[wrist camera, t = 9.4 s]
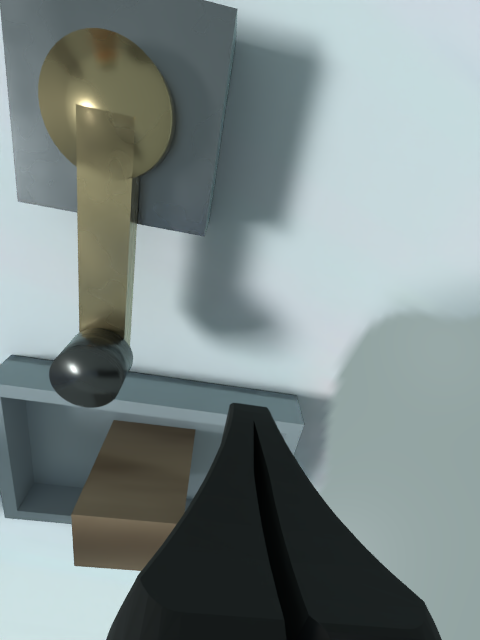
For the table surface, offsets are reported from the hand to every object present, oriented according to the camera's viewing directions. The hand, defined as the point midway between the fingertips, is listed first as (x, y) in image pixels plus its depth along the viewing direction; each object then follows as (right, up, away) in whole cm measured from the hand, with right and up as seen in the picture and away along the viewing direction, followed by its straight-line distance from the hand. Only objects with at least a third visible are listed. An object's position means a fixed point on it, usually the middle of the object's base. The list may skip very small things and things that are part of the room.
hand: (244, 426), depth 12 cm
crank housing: (-8, +13, +2) cm, 15 cm away
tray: (-6, -4, +10) cm, 12 cm away
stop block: (-6, -4, +9) cm, 12 cm away
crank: (-5, +7, +1) cm, 9 cm away
